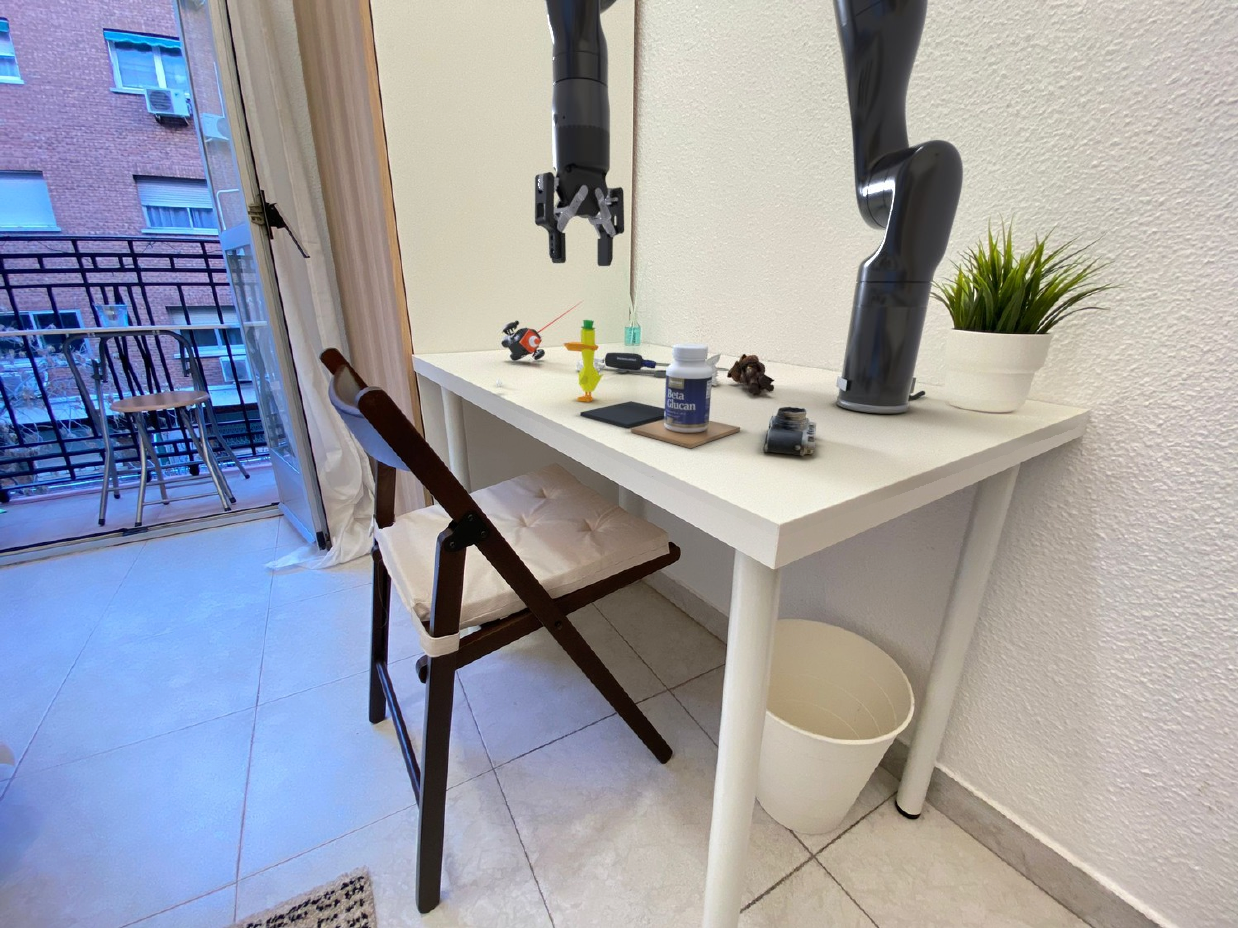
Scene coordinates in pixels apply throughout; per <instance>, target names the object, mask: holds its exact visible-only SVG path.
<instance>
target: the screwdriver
mask: <svg viewBox="0 0 1238 928" xmlns="http://www.w3.org/2000/svg"><path fill="white" fill-rule="evenodd" d="M670 364H671V363H666V362H657V361H655V360H652V359H645V358H644V357H643V355H641V354H640V353H639V354H638V353H635V352H630V353H629V352H606V354H605V356H604V365H605V367H608V368H613V369H628V370H639V371H641V370H642V368H647V369H652V370H653V369H654V370H655V369H656V367H665V368H667V367H668V366H669V365H670ZM716 367H717V366H716ZM717 370H718V371H717V372H728V371H729V370H730V368H727V367H717Z"/></svg>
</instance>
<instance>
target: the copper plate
mask: <svg viewBox="0 0 1238 928" xmlns="http://www.w3.org/2000/svg"><path fill="white" fill-rule="evenodd" d="M740 431H741V427H740V426H736V425H733V424H727V423H722V422H718V421H713V420H709V426H708V428H707V429H706V430H705V431H702V432H697V433H681V432H674V431H671V430H669V429H667V428H666V427H665V425H664V419H660V420H656V421H653V422H649V423H645V424H641V425H638V426H634V427H630V432H631V434H636V435H640V436H643V437H647V438H651V439H655V440H657V441H661V442H666V443H669V444H672V445H675V446H680V447H683V448H688V449H692V448H696V447H698V446H702V445H704V444H708V443H710V442H712V441H716V440H719V439H721V438H725V437H727V436H729V435H733V434H736V433H739V432H740Z"/></svg>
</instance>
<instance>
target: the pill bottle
mask: <svg viewBox="0 0 1238 928" xmlns="http://www.w3.org/2000/svg"><path fill="white" fill-rule="evenodd" d="M708 355H709V346H707V345H705V344H698V343H697V344H696V343H678V344H674V345H673V346H672V359H674V362H672V363H669V364H670V365H669V366H668V367H666V377H665V389H664V408H665V412H664V419H663V420H664V425H665V427H666V428H667V429H669V430H671V431H674V432H681V433H697V432H702V431H705V430H706V429H707V428H708V426H709V421H710V413H711V412H710V410H711V409H710V408H711V399H712V386H713V385H712V369H711V367H710V366H709V365H707V364H705V360H707V359H708V357H709V356H708Z"/></svg>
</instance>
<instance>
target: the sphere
mask: <svg viewBox="0 0 1238 928" xmlns="http://www.w3.org/2000/svg"><path fill="white" fill-rule="evenodd" d="M495 384H496V386H498V387H501V386H503V381H502V380H500V379H497V380H496V381H495ZM498 394H500V393H498Z"/></svg>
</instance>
